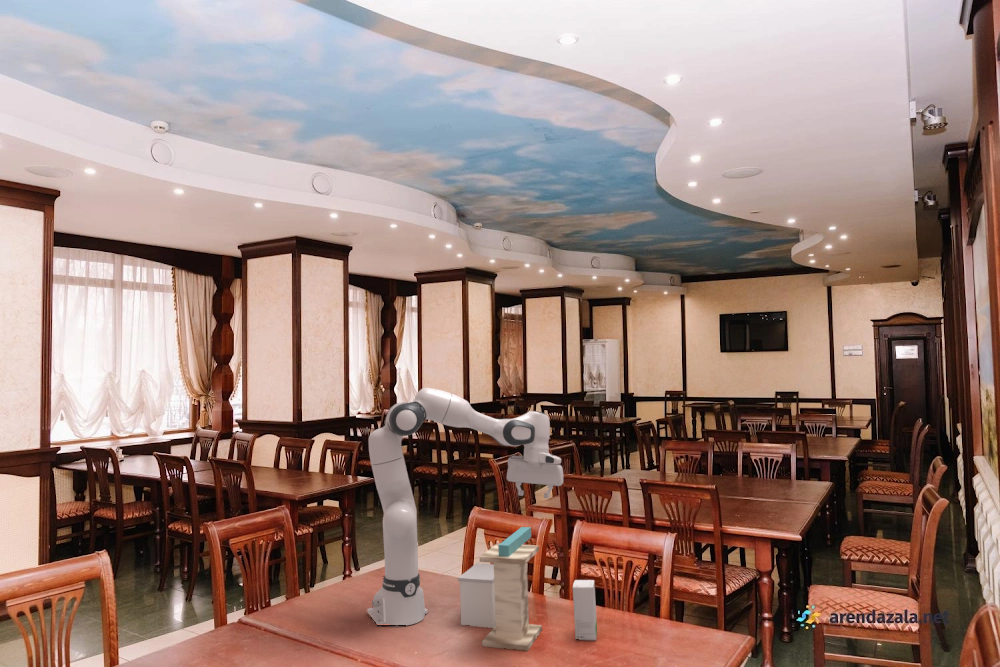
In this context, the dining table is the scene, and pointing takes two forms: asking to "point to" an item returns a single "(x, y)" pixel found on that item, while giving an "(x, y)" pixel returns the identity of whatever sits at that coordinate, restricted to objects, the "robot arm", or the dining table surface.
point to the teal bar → (514, 541)
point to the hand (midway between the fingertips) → (533, 496)
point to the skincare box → (584, 610)
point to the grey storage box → (478, 596)
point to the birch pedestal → (511, 599)
